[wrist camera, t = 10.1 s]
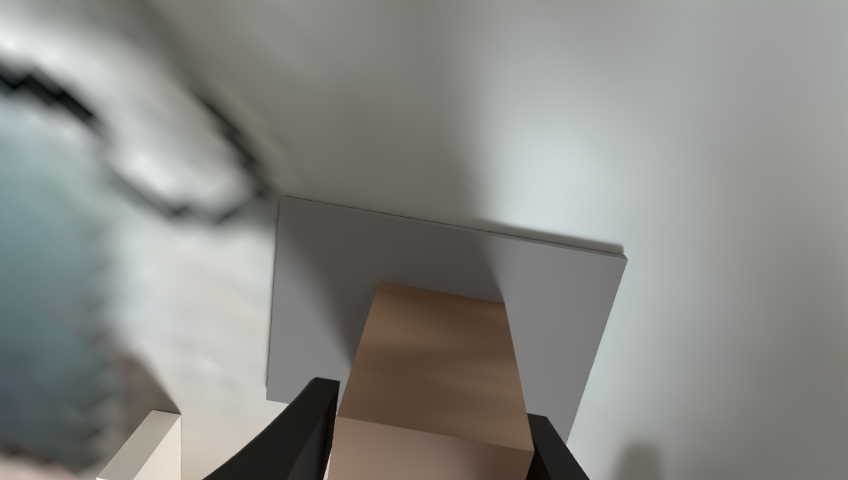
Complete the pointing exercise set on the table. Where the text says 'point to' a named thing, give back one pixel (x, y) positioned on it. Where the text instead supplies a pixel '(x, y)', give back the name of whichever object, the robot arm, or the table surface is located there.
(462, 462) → the walnut block
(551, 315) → the mat
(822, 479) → the table surface
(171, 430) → the cream u-shaped frame
